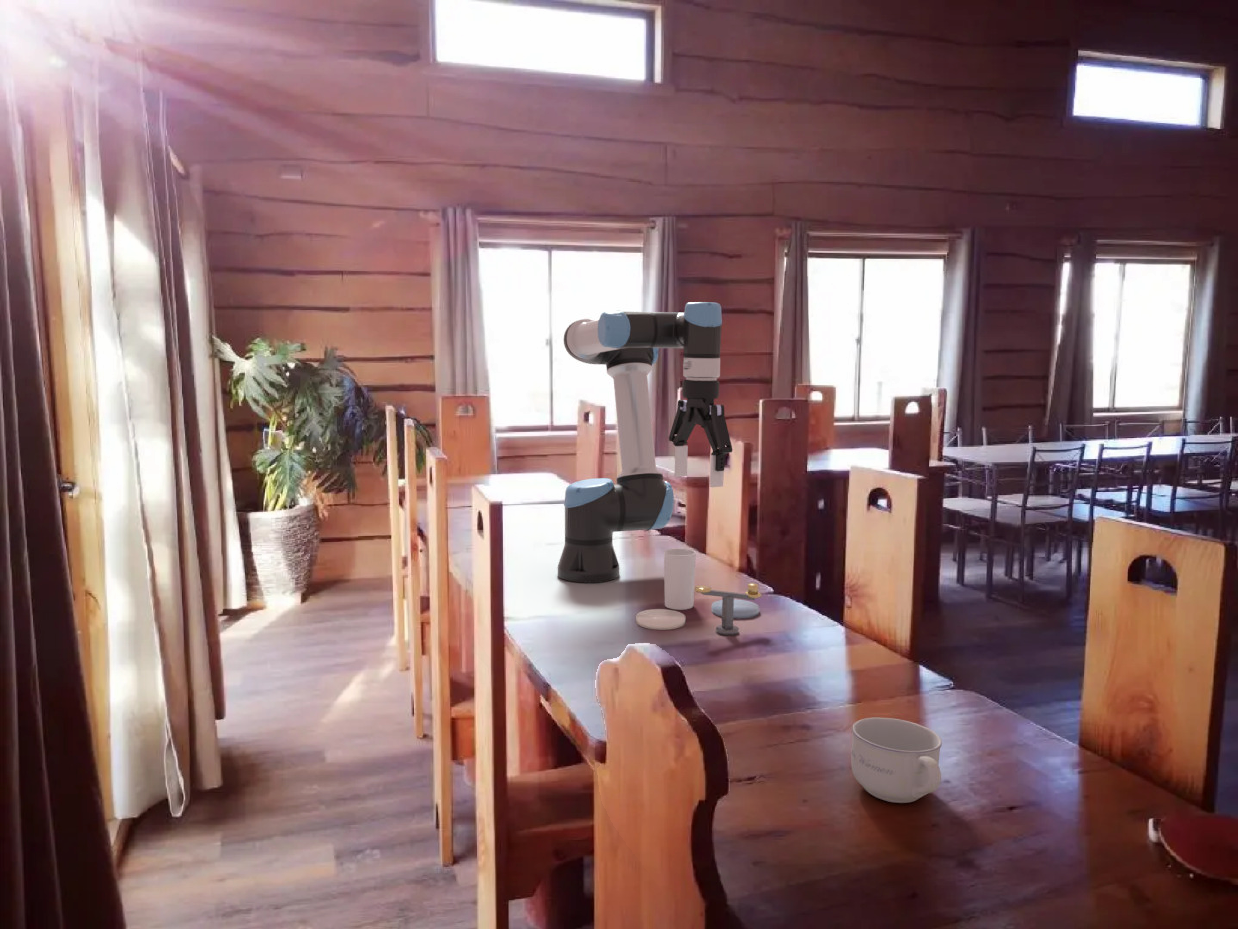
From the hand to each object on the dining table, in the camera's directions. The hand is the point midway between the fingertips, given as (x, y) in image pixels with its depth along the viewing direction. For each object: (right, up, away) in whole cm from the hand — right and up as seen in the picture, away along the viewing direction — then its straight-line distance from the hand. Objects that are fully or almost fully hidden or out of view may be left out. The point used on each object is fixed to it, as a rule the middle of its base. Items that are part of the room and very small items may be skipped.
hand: (698, 481), depth 185 cm
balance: (+5, -30, -10) cm, 31 cm away
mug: (-4, -27, +9) cm, 29 cm away
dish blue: (+8, -28, +4) cm, 29 cm away
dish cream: (-8, -29, -4) cm, 30 cm away
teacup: (+19, -39, -73) cm, 85 cm away
